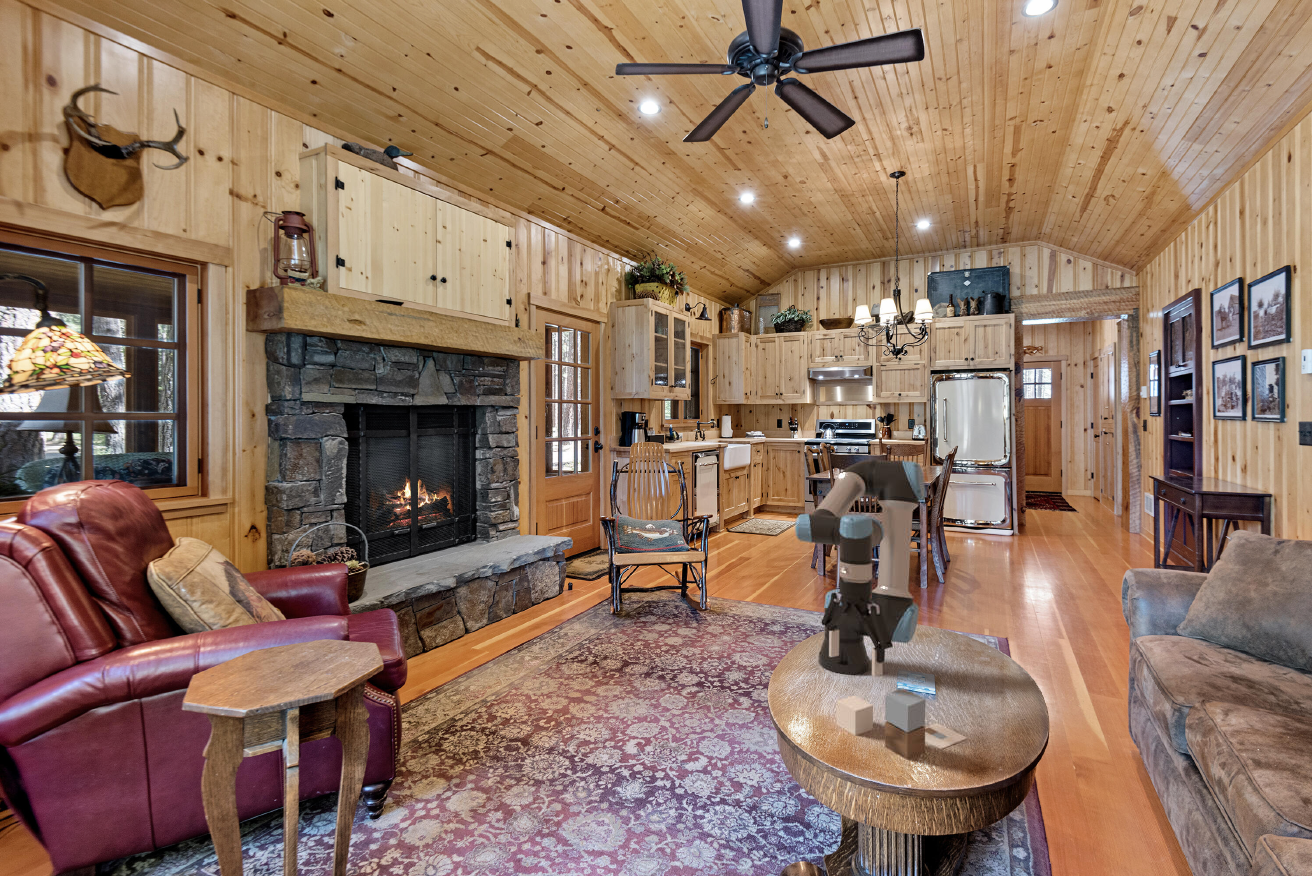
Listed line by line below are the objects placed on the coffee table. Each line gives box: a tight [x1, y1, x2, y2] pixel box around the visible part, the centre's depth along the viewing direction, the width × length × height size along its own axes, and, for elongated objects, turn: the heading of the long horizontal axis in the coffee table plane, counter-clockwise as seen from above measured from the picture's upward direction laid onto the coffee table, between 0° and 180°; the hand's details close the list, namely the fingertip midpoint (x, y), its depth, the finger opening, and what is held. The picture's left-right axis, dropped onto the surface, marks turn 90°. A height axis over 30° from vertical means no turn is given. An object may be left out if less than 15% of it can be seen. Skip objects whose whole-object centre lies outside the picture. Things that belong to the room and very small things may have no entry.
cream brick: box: [836, 695, 874, 736], centre depth 147 cm, size 6×6×6 cm
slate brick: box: [884, 687, 927, 732], centre depth 136 cm, size 6×6×6 cm
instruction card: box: [924, 722, 968, 751], centre depth 142 cm, size 8×10×1 cm
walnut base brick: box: [884, 720, 926, 761], centre depth 136 cm, size 6×6×6 cm
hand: (854, 665), depth 146 cm, fingers open, 13 cm apart
